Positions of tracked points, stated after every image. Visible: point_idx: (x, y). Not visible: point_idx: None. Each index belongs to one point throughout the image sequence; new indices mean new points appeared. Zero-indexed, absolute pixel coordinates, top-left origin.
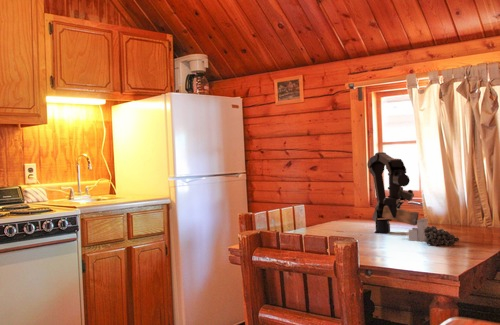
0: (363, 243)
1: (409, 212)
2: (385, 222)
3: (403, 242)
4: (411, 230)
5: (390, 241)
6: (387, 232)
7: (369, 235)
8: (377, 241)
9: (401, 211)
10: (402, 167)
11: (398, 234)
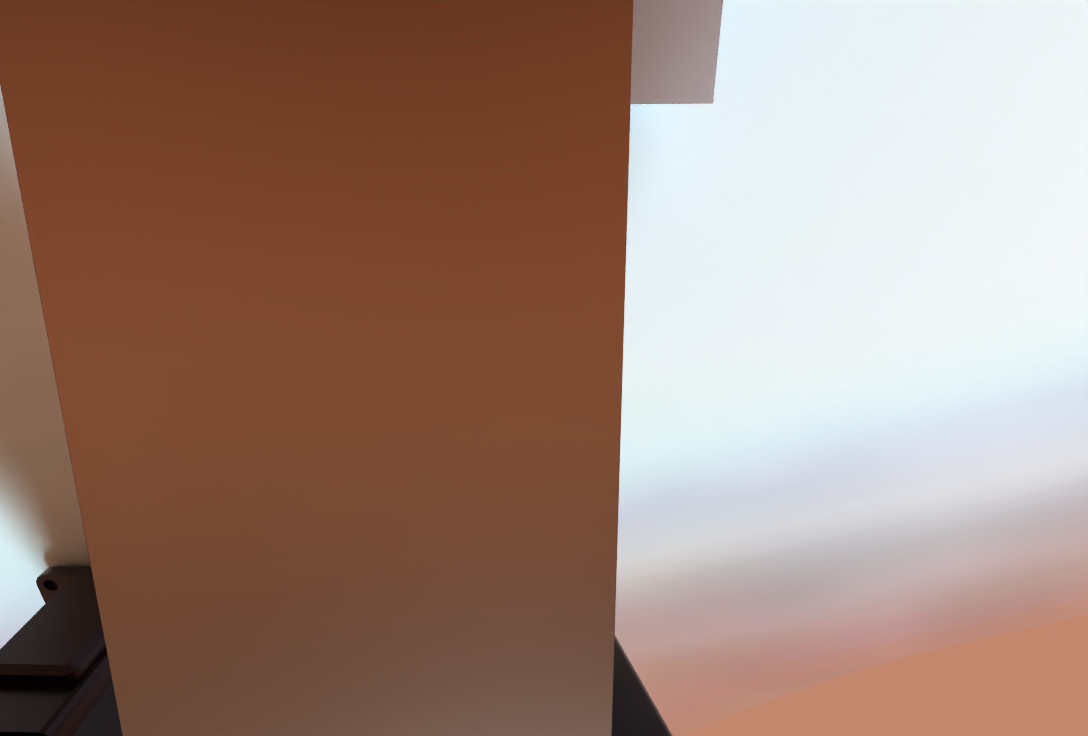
0: (1063, 604)
1: (621, 143)
2: (78, 729)
3: (887, 134)
4: (718, 13)
5: (834, 356)
6: None
7: None
8: (876, 507)
9: (609, 667)
10: None
11: None
